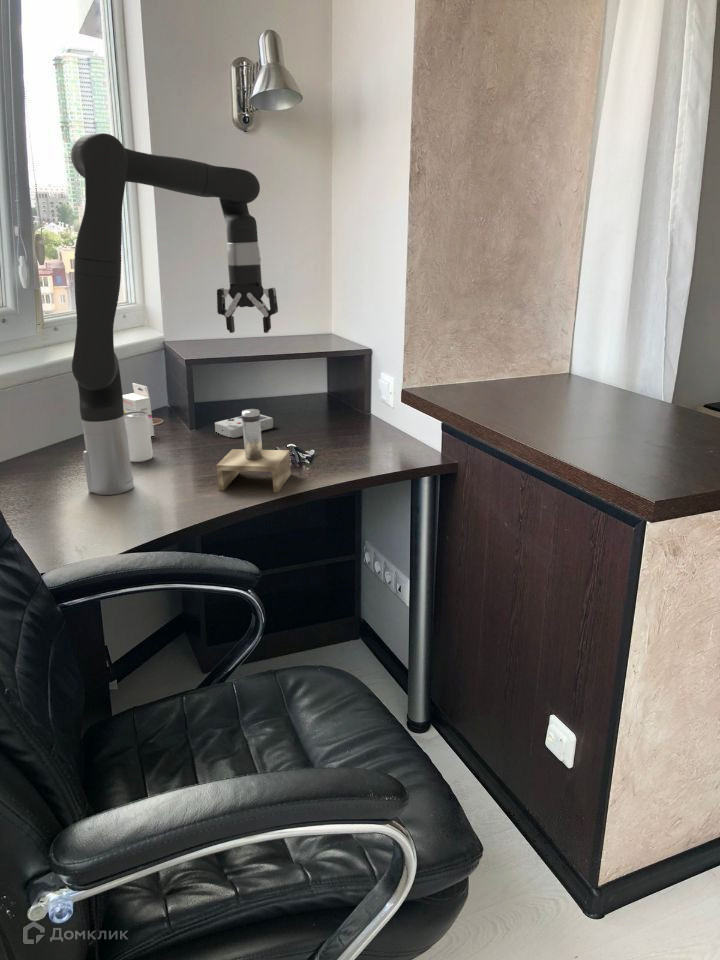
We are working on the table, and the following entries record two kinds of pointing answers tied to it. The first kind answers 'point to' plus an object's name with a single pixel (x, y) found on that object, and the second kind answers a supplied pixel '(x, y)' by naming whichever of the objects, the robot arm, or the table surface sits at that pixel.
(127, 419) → the can
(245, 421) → the spice jar
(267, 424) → the handheld gaming device
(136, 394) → the ink cartridge box
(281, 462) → the riser
